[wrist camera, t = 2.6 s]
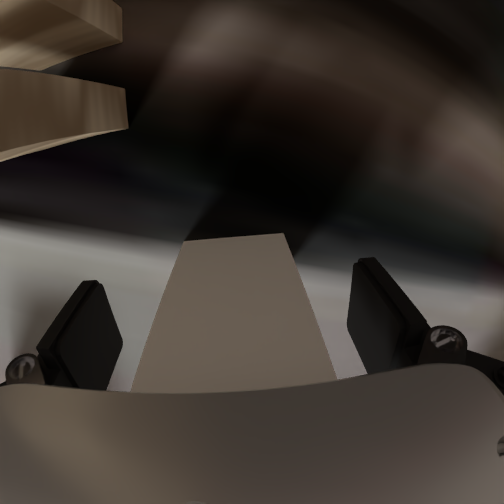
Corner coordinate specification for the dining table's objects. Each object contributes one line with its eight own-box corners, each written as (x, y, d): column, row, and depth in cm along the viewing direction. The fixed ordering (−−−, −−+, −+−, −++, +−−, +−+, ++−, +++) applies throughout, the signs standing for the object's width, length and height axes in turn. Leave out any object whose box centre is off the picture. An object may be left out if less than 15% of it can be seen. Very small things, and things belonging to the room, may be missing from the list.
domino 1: (40, 38, 10) (-99, 16, 1) (122, 8, 10) (0, -79, 1) (40, 70, 11) (-110, 67, 2) (122, 42, 11) (-18, -26, 2)
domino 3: (183, 241, 15) (127, 401, 6) (283, 233, 15) (340, 390, 6) (189, 276, 16) (151, 443, 7) (284, 268, 16) (331, 434, 7)
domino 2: (42, 113, 12) (-113, 141, 3) (124, 88, 12) (-33, 67, 3) (46, 148, 13) (-105, 205, 4) (128, 128, 13) (-28, 160, 4)
